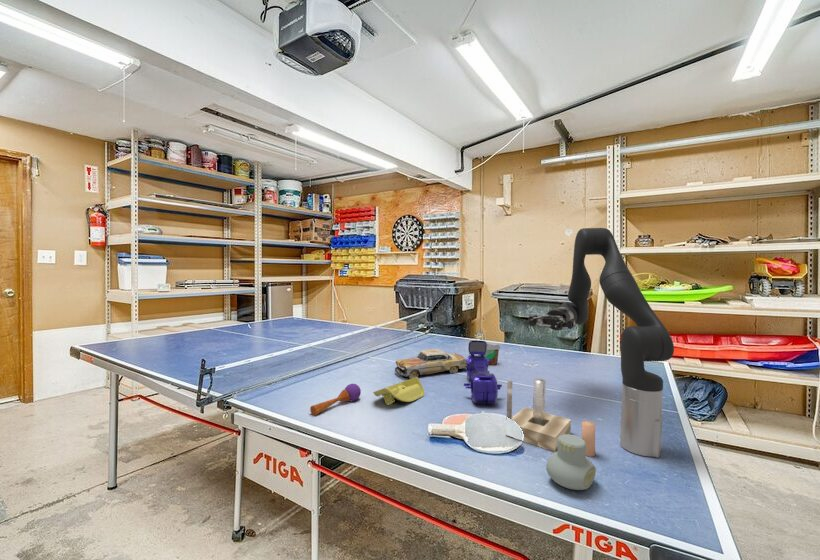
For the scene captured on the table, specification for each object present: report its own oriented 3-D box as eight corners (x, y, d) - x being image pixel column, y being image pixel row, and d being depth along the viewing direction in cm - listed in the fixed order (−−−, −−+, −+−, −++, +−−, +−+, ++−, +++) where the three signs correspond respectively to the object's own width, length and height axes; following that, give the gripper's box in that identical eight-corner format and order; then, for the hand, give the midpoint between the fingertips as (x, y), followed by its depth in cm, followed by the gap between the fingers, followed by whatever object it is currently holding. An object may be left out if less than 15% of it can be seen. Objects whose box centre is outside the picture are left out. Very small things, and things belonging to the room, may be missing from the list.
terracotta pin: (595, 452, 97) (596, 422, 96) (594, 457, 94) (594, 427, 94) (582, 449, 99) (582, 420, 98) (580, 454, 96) (580, 424, 96)
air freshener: (563, 465, 91) (564, 426, 90) (598, 480, 85) (599, 438, 84) (541, 483, 83) (543, 441, 83) (578, 501, 77) (580, 455, 77)
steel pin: (545, 433, 107) (547, 380, 106) (541, 437, 105) (543, 383, 104) (534, 430, 109) (536, 377, 108) (530, 434, 107) (532, 380, 106)
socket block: (570, 432, 108) (572, 379, 107) (554, 452, 97) (556, 392, 96) (524, 419, 117) (525, 370, 116) (505, 435, 106) (506, 381, 105)
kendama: (306, 401, 121) (351, 381, 136) (309, 419, 121) (354, 396, 136) (317, 402, 117) (362, 381, 132) (320, 420, 117) (365, 397, 132)
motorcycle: (459, 375, 161) (460, 336, 160) (491, 376, 160) (492, 337, 158) (465, 408, 126) (466, 358, 125) (505, 409, 125) (506, 359, 124)
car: (391, 372, 164) (391, 350, 164) (457, 364, 178) (457, 344, 177) (402, 381, 153) (402, 357, 152) (471, 371, 166) (472, 350, 166)
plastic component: (400, 382, 144) (419, 375, 139) (406, 401, 142) (426, 394, 138) (367, 394, 128) (388, 386, 123) (374, 415, 126) (395, 408, 121)
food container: (471, 362, 180) (471, 342, 180) (477, 360, 185) (478, 340, 184) (493, 367, 172) (493, 346, 171) (499, 365, 176) (500, 344, 176)
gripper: (540, 306, 135) (523, 310, 123) (581, 309, 126) (567, 315, 114) (539, 326, 136) (522, 332, 123) (580, 331, 127) (566, 339, 114)
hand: (544, 324), depth 118 cm, fingers open, 8 cm apart
